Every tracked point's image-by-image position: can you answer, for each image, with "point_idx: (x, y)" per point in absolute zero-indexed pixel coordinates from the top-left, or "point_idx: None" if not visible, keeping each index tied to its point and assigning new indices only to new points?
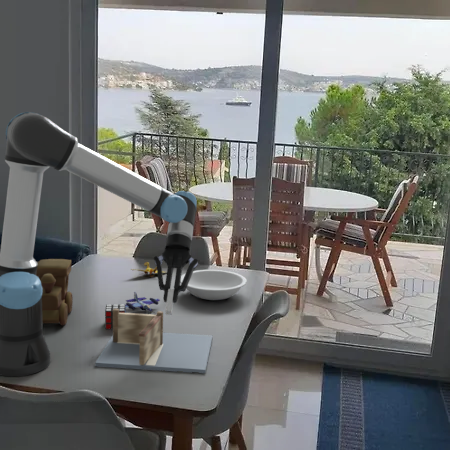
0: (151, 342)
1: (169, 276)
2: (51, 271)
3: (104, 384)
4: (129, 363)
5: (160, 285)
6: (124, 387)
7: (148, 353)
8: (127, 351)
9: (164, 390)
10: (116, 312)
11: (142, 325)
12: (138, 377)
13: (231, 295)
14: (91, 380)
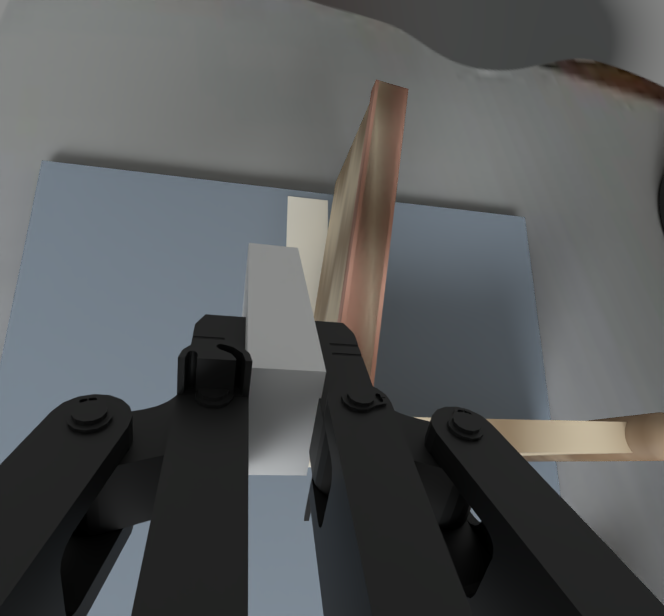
0: (335, 249)
1: (388, 566)
2: None
3: (439, 97)
4: (397, 213)
5: (460, 417)
6: (370, 75)
7: (332, 226)
8: (437, 330)
9: (225, 49)
10: (643, 415)
11: None
12: (338, 141)
13: None
14: (489, 123)
